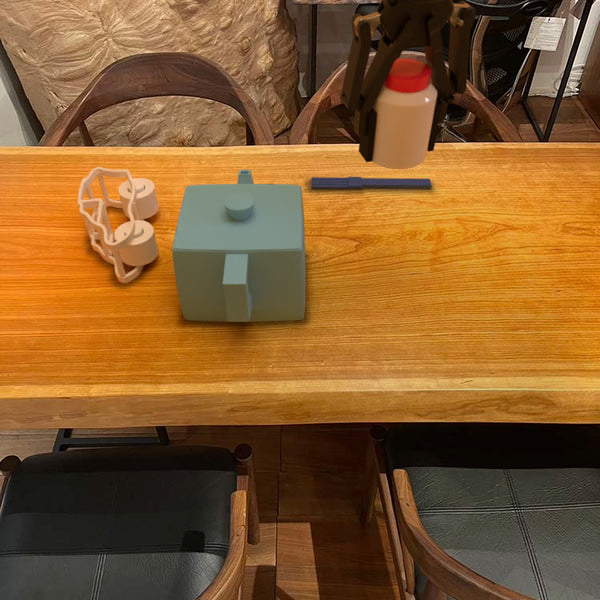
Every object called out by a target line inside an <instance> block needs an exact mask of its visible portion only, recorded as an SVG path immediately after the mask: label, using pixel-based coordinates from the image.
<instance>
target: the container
mask: <svg viewBox="0 0 600 600" xmlns="http://www.w3.org/2000/svg"><path fill="white" fill-rule="evenodd" d="M303 200H304V199H303V188H302V185H300V184H287V183H284V184H283V183H254V179H253V175H252V170H251V169H239V170H238V174H237V183H213V184H209V183H207V184H190V185H186V186H185V188H184V193H183V197H182V202H181V206H180V210H179V214H178V219H177V223H176V228H175V232H174V237H173V242H172V248H171V252H172V263H173V270H174V278H175V285H176V290H177V296H178V303H179V306H180V310H181V313H182V315H183V318H184V320H185V321H190V322H191V321H193V322H216V323H217V322H220V323H221V322H222V323H224V322H225V323H257V322H258V323H259V322H260V323H263V322H292V321H302V320H304V317H305V311H306V289H307V287H306V285H307V283H306V280H307V279H306V275H307V273H306V269H307V268H306V236H305V235H306V233H305V213H304V201H303Z"/></svg>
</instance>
